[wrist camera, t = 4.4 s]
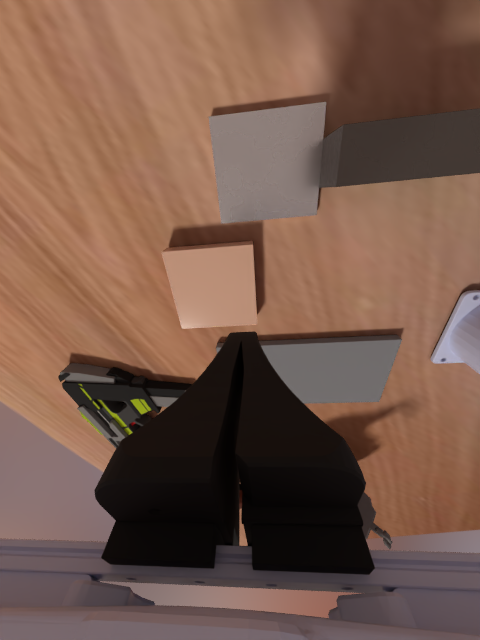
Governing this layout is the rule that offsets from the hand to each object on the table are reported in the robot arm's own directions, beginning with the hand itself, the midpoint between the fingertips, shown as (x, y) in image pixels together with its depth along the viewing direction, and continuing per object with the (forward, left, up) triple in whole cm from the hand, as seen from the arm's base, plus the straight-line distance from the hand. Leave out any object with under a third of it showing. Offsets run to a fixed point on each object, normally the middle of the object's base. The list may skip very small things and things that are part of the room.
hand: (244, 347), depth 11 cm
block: (-1, 0, -8) cm, 8 cm away
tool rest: (-5, +11, -9) cm, 15 cm away
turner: (-6, -8, -9) cm, 14 cm away
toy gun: (+13, +17, -10) cm, 24 cm away
